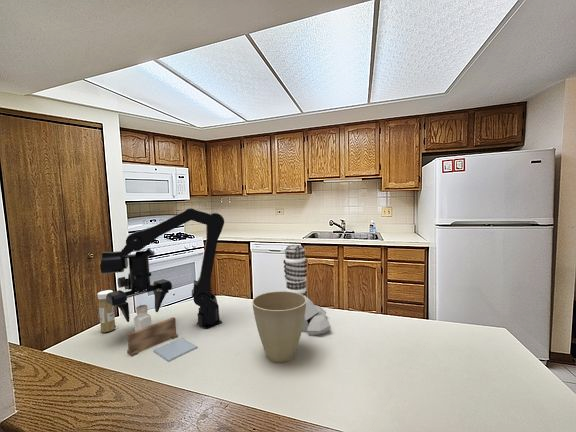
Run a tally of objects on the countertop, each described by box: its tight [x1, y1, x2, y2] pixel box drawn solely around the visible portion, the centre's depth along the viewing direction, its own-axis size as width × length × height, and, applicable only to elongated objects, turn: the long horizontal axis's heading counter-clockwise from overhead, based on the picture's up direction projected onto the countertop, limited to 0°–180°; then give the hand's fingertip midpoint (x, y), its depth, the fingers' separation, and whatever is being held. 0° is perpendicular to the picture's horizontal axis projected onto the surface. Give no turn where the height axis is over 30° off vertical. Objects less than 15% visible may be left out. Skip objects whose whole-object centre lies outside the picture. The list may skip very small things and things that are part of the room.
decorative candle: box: [283, 244, 308, 298], centre depth 111 cm, size 9×9×25 cm
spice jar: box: [97, 289, 117, 333], centre depth 98 cm, size 5×5×13 cm
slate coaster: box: [152, 337, 198, 363], centre depth 84 cm, size 9×9×1 cm
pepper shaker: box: [133, 304, 152, 331], centre depth 94 cm, size 4×4×10 cm
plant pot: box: [251, 290, 307, 363], centre depth 78 cm, size 15×15×16 cm
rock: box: [301, 296, 331, 336], centre depth 97 cm, size 18×20×10 cm
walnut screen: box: [126, 317, 179, 357], centre depth 87 cm, size 14×3×6 cm, turn 140°
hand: (142, 316), depth 94 cm, fingers open, 9 cm apart
